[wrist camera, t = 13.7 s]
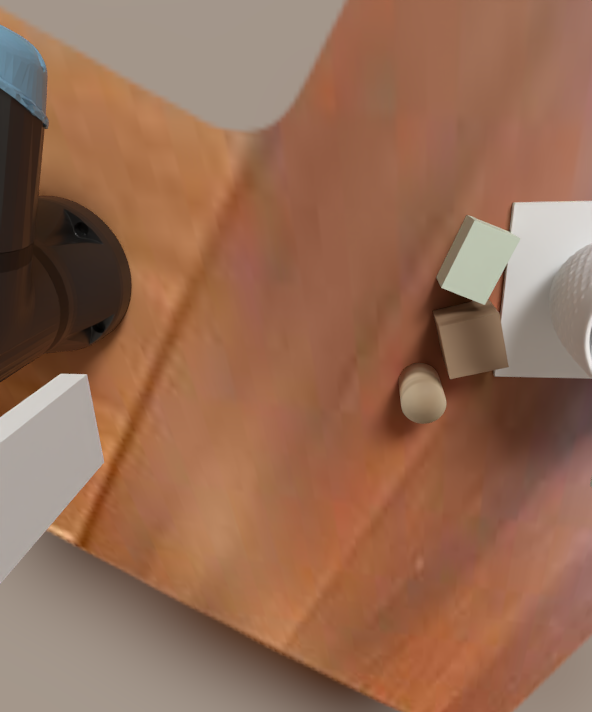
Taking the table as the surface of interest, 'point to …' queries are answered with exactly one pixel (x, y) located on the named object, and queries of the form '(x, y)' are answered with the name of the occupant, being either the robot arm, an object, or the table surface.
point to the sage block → (476, 259)
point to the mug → (574, 307)
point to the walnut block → (470, 338)
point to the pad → (540, 286)
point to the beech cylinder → (421, 393)
